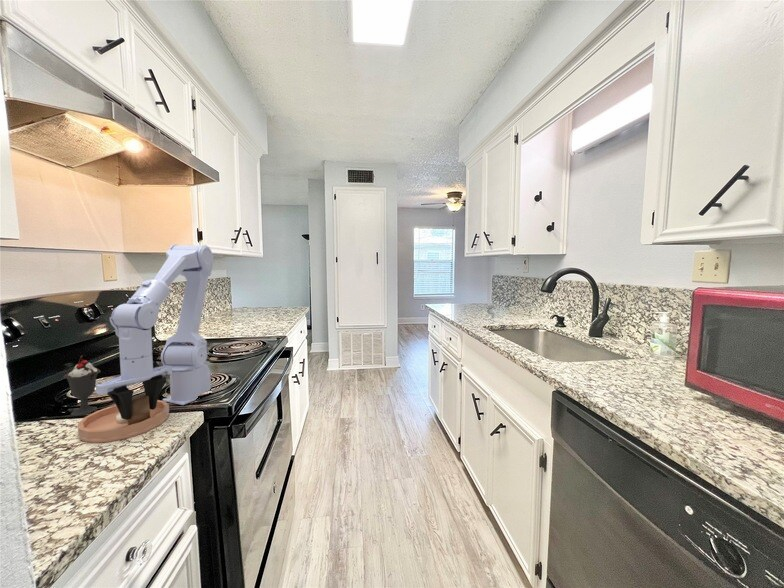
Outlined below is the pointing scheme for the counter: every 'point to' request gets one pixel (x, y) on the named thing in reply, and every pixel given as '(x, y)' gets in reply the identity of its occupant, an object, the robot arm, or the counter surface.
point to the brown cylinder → (139, 409)
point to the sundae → (82, 385)
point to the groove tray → (118, 424)
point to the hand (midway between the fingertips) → (139, 413)
